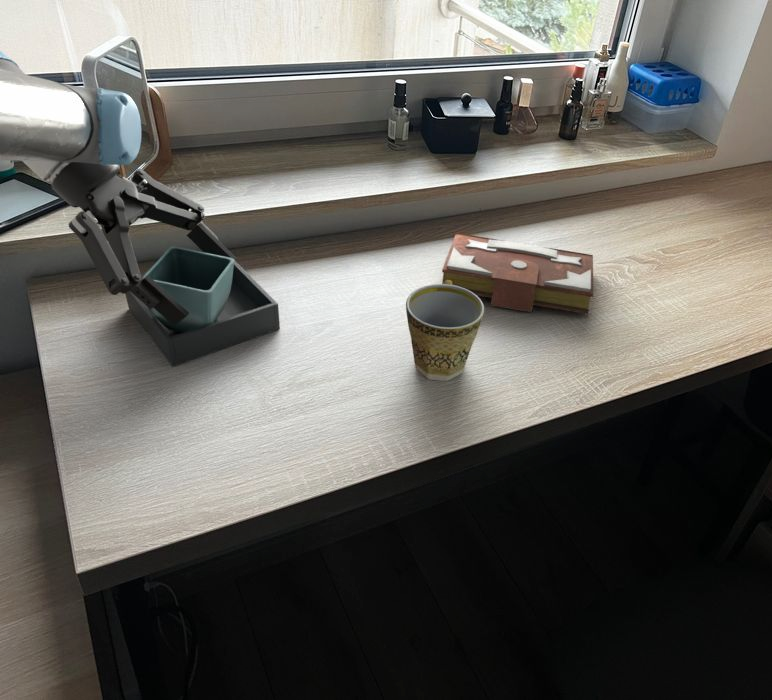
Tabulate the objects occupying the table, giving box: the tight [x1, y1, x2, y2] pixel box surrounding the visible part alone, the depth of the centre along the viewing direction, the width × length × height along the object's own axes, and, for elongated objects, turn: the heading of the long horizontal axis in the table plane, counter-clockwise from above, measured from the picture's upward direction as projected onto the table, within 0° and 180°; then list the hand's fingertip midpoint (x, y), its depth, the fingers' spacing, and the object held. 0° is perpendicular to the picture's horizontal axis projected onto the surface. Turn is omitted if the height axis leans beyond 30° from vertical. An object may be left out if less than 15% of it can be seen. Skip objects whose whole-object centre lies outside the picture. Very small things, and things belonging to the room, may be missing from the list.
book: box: [441, 232, 594, 315], centre depth 114 cm, size 23×16×5 cm
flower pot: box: [141, 245, 234, 333], centre depth 96 cm, size 9×9×9 cm
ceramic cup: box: [405, 280, 485, 382], centre depth 96 cm, size 13×10×10 cm
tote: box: [125, 260, 281, 368], centre depth 100 cm, size 15×15×4 cm
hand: (207, 290), depth 95 cm, fingers open, 13 cm apart
